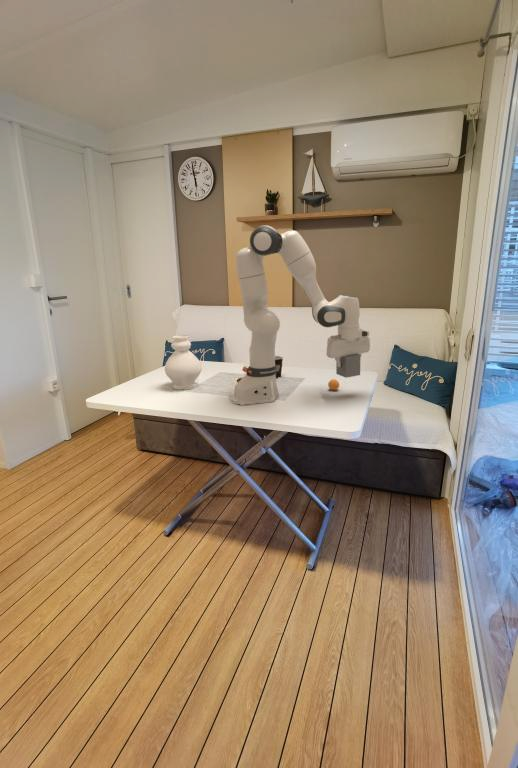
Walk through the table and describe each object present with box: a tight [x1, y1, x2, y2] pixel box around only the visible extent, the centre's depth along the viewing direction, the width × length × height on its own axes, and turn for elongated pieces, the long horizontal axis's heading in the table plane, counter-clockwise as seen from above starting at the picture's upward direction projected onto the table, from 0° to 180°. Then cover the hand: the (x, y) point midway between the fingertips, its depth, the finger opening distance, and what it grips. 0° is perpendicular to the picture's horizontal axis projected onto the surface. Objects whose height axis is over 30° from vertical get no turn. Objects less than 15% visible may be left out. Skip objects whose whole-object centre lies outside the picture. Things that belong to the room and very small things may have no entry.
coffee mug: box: [275, 355, 284, 379], centre depth 214 cm, size 12×9×10 cm
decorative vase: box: [164, 334, 203, 390], centre depth 200 cm, size 18×18×25 cm
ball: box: [327, 378, 340, 391], centre depth 188 cm, size 5×5×5 cm
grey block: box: [335, 354, 362, 378], centre depth 176 cm, size 7×7×9 cm
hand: (348, 365), depth 176 cm, fingers closed on grey block, 7 cm apart
